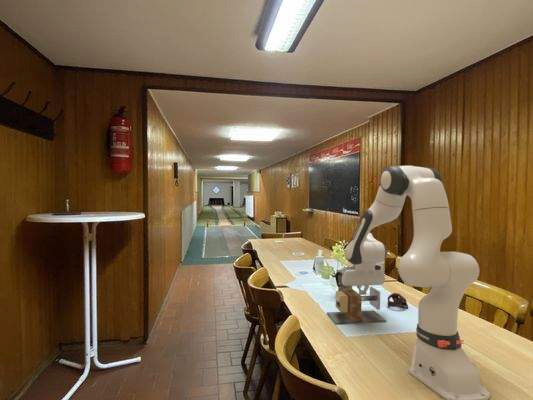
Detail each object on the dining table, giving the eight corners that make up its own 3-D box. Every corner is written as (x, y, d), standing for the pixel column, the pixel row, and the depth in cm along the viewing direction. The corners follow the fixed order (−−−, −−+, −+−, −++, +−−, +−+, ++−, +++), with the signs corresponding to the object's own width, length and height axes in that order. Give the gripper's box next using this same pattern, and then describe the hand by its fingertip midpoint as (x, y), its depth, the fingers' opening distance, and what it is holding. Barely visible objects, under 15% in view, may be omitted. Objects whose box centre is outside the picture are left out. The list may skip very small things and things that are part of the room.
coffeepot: (345, 293, 179) (345, 262, 179) (359, 297, 172) (359, 265, 172) (328, 299, 169) (328, 266, 169) (342, 303, 162) (342, 269, 162)
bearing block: (373, 311, 151) (374, 287, 151) (386, 321, 139) (386, 295, 139) (326, 314, 148) (326, 289, 148) (335, 324, 136) (335, 297, 136)
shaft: (371, 303, 148) (372, 287, 148) (380, 309, 140) (380, 292, 140) (333, 305, 146) (333, 288, 146) (339, 311, 138) (339, 293, 138)
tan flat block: (341, 306, 146) (341, 291, 146) (347, 312, 139) (347, 296, 139) (335, 306, 146) (335, 291, 146) (341, 312, 138) (341, 296, 138)
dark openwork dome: (412, 312, 152) (406, 299, 150) (394, 319, 154) (388, 306, 152) (403, 298, 164) (397, 285, 162) (386, 304, 165) (380, 292, 164)
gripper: (344, 267, 142) (344, 297, 142) (386, 266, 144) (385, 295, 145) (339, 264, 148) (339, 293, 148) (379, 263, 151) (379, 291, 151)
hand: (362, 294), depth 146 cm, fingers closed
